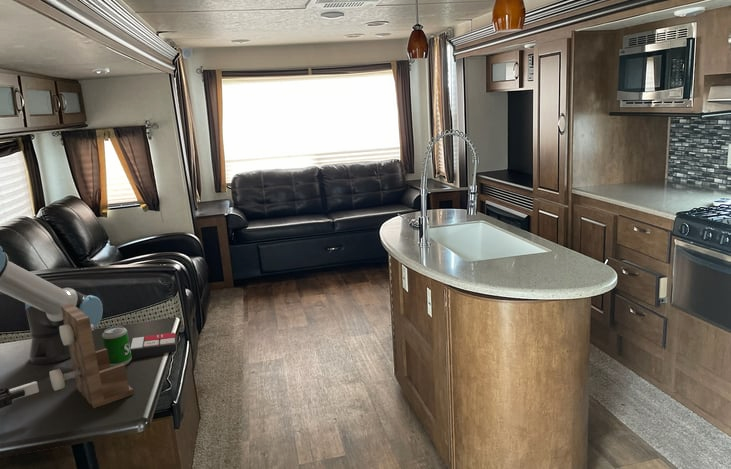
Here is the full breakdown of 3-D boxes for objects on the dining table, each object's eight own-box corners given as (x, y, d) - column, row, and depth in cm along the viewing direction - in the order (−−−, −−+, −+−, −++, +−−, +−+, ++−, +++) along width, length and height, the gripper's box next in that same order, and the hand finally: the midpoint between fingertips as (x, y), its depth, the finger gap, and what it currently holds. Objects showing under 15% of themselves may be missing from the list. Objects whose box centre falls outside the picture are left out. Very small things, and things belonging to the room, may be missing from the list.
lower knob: (51, 387, 162) (48, 368, 161) (82, 377, 167) (79, 359, 166) (56, 393, 158) (52, 374, 157) (88, 383, 163) (84, 364, 162)
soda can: (123, 369, 183) (117, 334, 181) (102, 368, 185) (96, 333, 183) (136, 359, 191) (131, 325, 188) (117, 358, 192) (111, 325, 190)
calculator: (175, 342, 194) (128, 348, 190) (177, 354, 195) (129, 360, 191) (176, 331, 204) (131, 336, 200) (177, 342, 205) (132, 348, 201)
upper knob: (61, 342, 162) (58, 324, 161) (92, 334, 168) (88, 316, 166) (66, 347, 158) (63, 328, 157) (97, 338, 163) (94, 320, 162)
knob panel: (76, 387, 172) (60, 306, 167) (114, 375, 179) (100, 296, 174) (93, 408, 159) (77, 320, 153) (133, 394, 166) (119, 309, 160)
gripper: (-67, 424, 148) (35, 391, 163) (-63, 443, 138) (45, 407, 153) (-74, 397, 146) (30, 366, 161) (-70, 415, 137) (39, 381, 151)
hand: (37, 386), depth 157 cm, fingers closed
